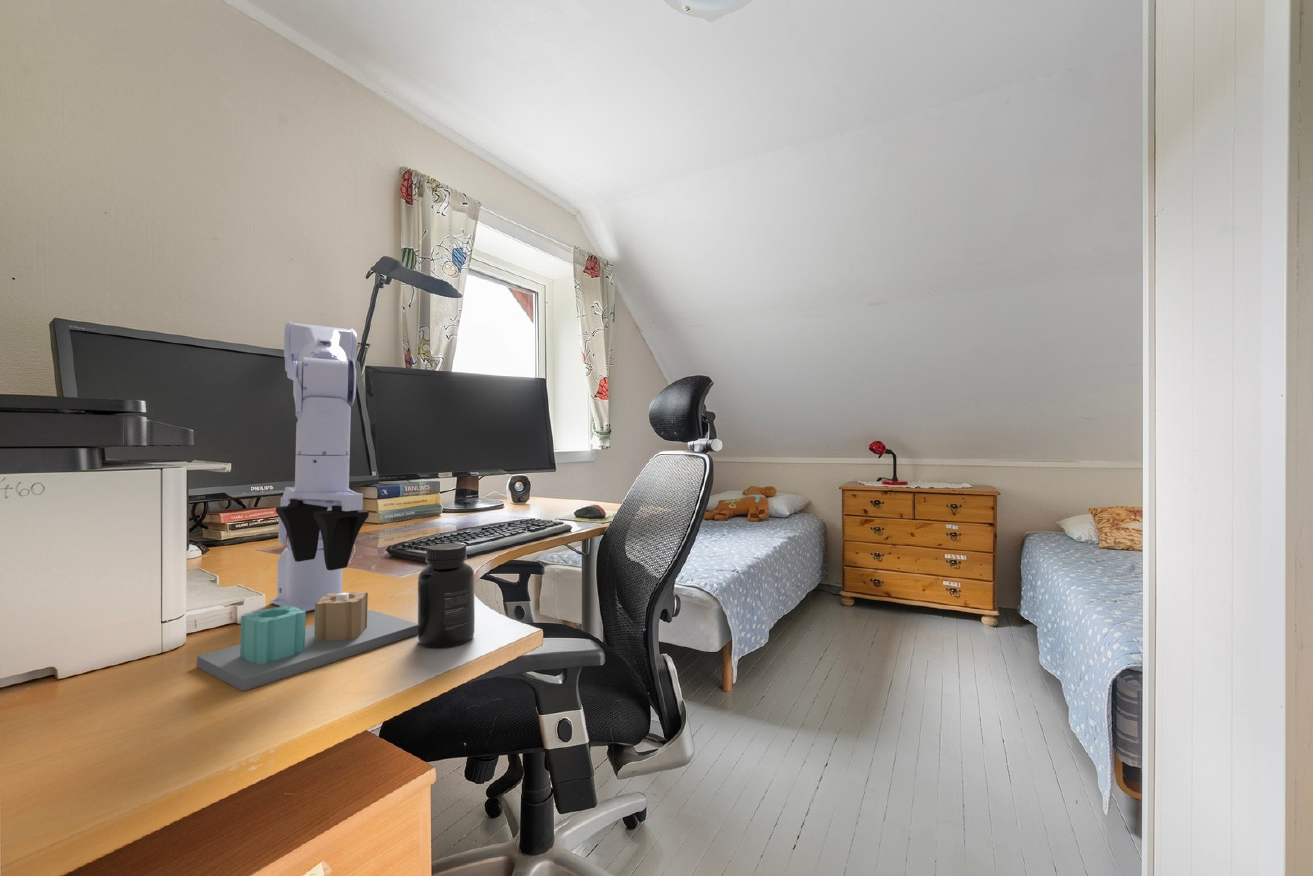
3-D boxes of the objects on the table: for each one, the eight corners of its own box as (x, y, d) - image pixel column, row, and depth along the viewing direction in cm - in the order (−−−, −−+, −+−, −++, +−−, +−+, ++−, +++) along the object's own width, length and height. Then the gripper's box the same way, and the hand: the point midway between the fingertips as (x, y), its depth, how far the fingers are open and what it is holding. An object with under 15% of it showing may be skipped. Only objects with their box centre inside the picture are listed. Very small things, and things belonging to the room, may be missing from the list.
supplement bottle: (477, 628, 73) (478, 540, 73) (469, 647, 66) (471, 550, 66) (424, 631, 72) (425, 541, 72) (410, 651, 65) (411, 552, 65)
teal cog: (237, 655, 60) (238, 615, 60) (285, 642, 64) (286, 604, 64) (259, 665, 57) (260, 623, 57) (307, 650, 62) (308, 611, 62)
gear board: (196, 666, 60) (198, 611, 60) (371, 618, 77) (372, 575, 77) (242, 691, 54) (244, 630, 54) (419, 633, 71) (420, 587, 71)
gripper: (259, 453, 67) (256, 562, 67) (319, 457, 60) (316, 579, 59) (318, 453, 73) (316, 552, 73) (380, 456, 66) (378, 567, 65)
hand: (320, 564), depth 67 cm, fingers open, 7 cm apart
